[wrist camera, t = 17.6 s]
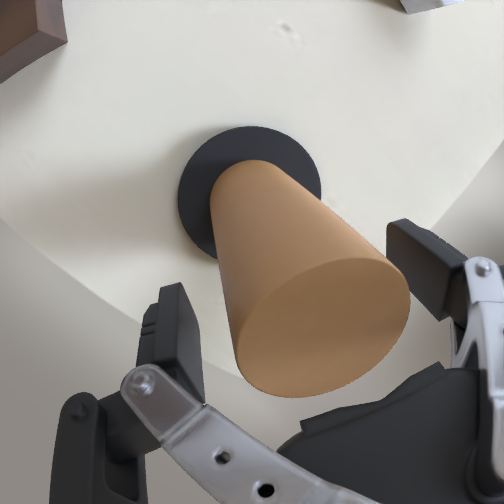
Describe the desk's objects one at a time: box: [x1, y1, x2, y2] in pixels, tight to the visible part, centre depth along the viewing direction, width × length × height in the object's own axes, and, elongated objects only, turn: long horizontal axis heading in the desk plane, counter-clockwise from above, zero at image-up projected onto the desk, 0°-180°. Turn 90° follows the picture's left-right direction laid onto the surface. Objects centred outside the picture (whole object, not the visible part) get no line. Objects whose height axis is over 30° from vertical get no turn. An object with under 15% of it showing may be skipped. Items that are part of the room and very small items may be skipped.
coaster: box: [178, 126, 321, 259], centre depth 18 cm, size 9×9×1 cm
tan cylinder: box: [210, 160, 410, 398], centre depth 13 cm, size 12×5×12 cm
